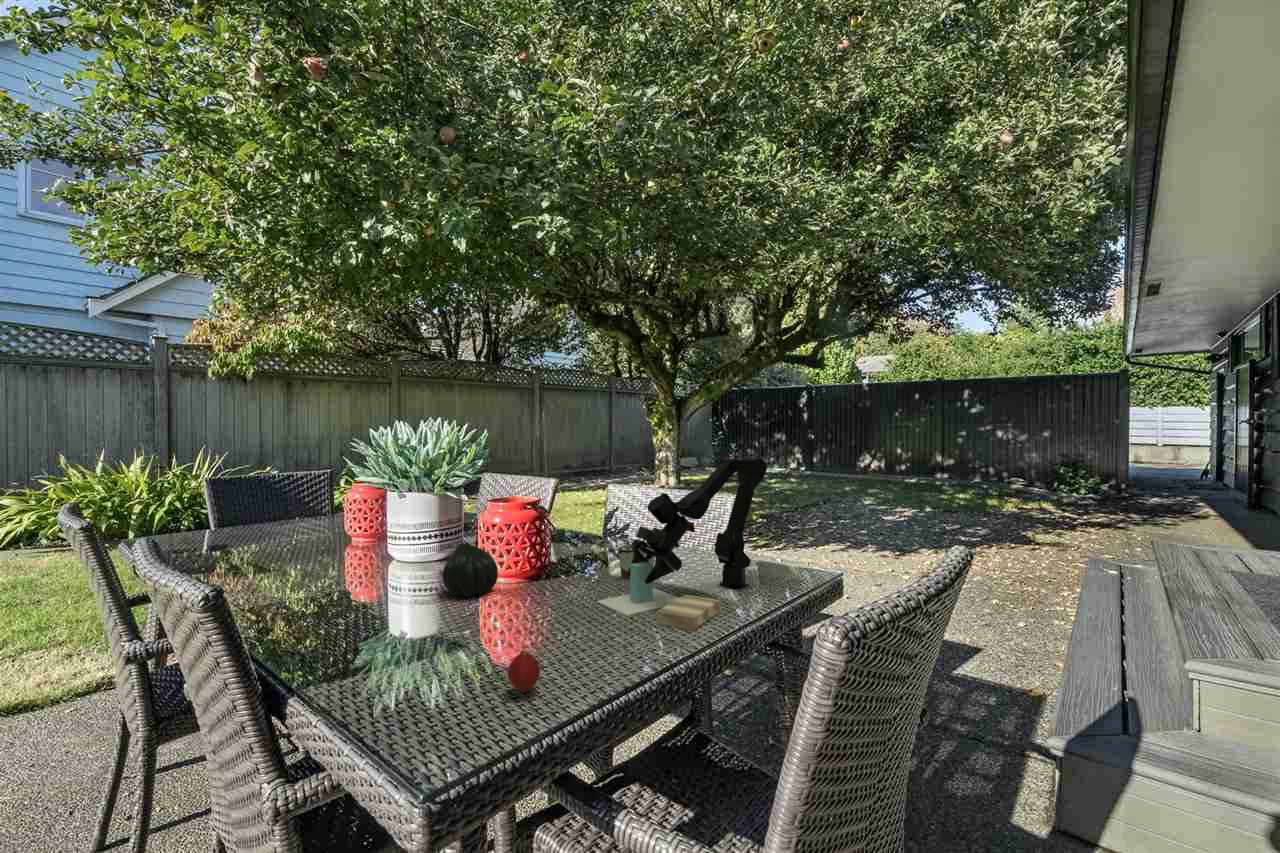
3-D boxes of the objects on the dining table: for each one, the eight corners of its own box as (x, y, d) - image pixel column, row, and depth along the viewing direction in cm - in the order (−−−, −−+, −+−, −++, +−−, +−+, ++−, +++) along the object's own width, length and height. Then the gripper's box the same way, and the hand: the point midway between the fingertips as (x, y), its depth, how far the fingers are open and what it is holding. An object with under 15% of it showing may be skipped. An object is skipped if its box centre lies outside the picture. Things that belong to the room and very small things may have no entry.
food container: (657, 576, 193) (658, 544, 193) (656, 581, 187) (656, 548, 187) (619, 574, 194) (619, 543, 194) (616, 580, 188) (616, 547, 188)
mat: (653, 589, 178) (653, 588, 178) (686, 601, 167) (686, 600, 167) (596, 602, 166) (596, 601, 166) (627, 616, 155) (627, 614, 155)
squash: (511, 576, 172) (491, 531, 179) (463, 588, 162) (443, 541, 168) (493, 600, 180) (474, 557, 187) (445, 614, 170) (427, 568, 176)
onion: (510, 685, 115) (510, 643, 115) (541, 684, 116) (541, 642, 116) (506, 699, 110) (506, 655, 109) (538, 698, 110) (538, 654, 110)
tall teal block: (645, 597, 169) (645, 561, 169) (652, 600, 166) (652, 564, 166) (630, 600, 166) (630, 564, 166) (636, 603, 163) (636, 566, 163)
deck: (684, 605, 163) (684, 594, 163) (719, 611, 159) (719, 600, 158) (656, 623, 149) (656, 611, 149) (694, 630, 145) (694, 618, 144)
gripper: (636, 511, 176) (602, 553, 170) (672, 521, 160) (636, 568, 154) (659, 535, 180) (627, 577, 175) (697, 547, 164) (662, 594, 158)
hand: (637, 578), depth 165 cm, fingers open, 9 cm apart
